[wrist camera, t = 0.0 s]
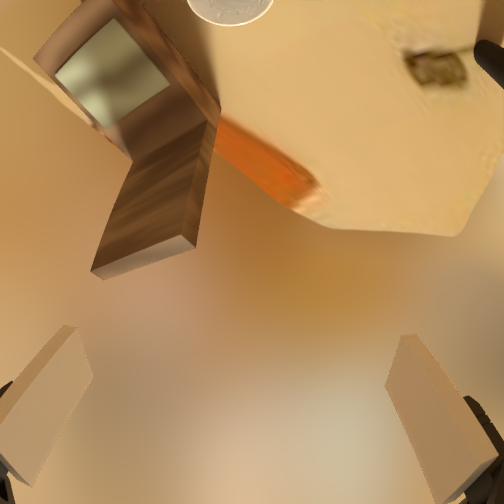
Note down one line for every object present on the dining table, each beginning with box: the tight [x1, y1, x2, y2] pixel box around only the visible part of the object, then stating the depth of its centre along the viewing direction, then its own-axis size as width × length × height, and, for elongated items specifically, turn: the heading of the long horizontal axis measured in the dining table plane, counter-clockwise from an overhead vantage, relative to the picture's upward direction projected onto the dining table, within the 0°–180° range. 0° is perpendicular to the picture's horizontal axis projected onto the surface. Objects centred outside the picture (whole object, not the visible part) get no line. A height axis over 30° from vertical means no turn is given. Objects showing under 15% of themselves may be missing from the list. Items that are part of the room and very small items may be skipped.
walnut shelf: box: [33, 0, 221, 280], centre depth 26 cm, size 24×13×24 cm, turn 28°
